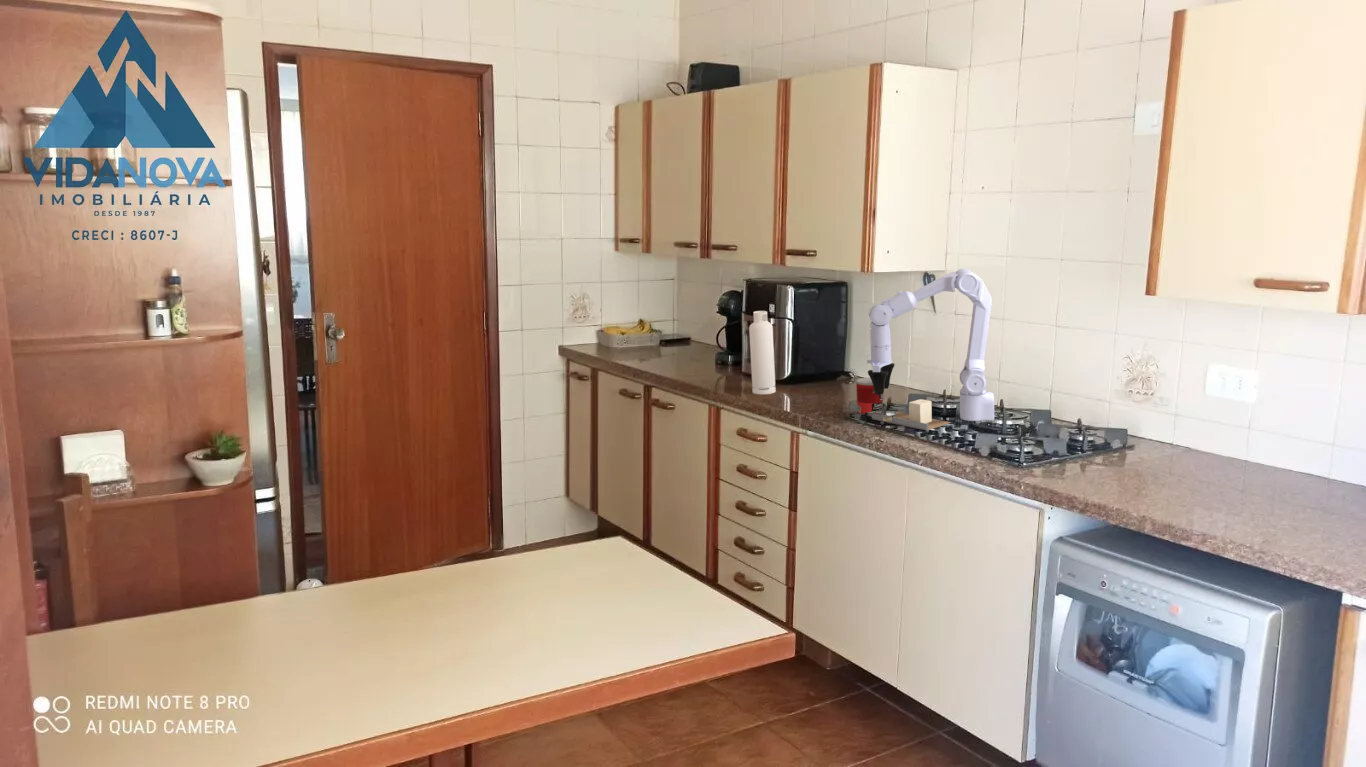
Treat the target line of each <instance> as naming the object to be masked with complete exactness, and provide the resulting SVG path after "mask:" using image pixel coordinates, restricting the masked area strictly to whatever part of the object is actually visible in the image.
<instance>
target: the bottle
mask: <svg viewBox="0 0 1366 767" xmlns="http://www.w3.org/2000/svg"><path fill="white" fill-rule="evenodd" d="M752 313H753V322H752V323H751V324H749V330H748V331H749V346H750V347H749V348H750V351H749V352H750V368H751V369H750V370H751V389H752V394H755V395H771V394H774V393H776V370H775V350H774V326H773V324H772V323H771V322H770V321H768V310H767V311H766V310H756V311H753V312H752Z"/></svg>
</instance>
